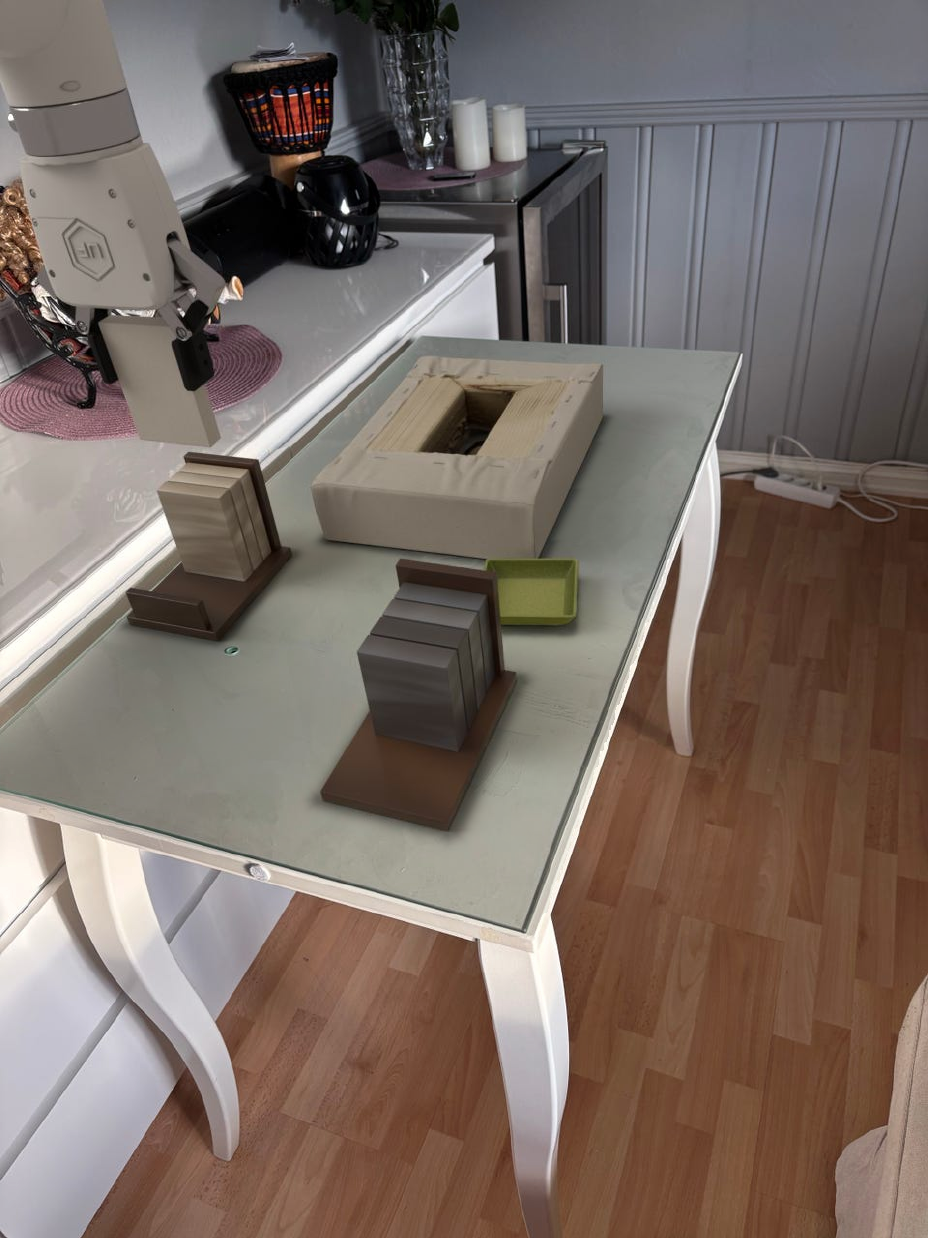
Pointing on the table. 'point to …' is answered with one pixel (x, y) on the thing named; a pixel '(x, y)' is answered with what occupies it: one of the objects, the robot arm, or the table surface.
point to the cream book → (157, 383)
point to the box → (465, 458)
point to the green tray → (536, 590)
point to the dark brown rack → (212, 547)
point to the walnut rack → (426, 696)
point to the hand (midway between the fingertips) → (159, 378)
